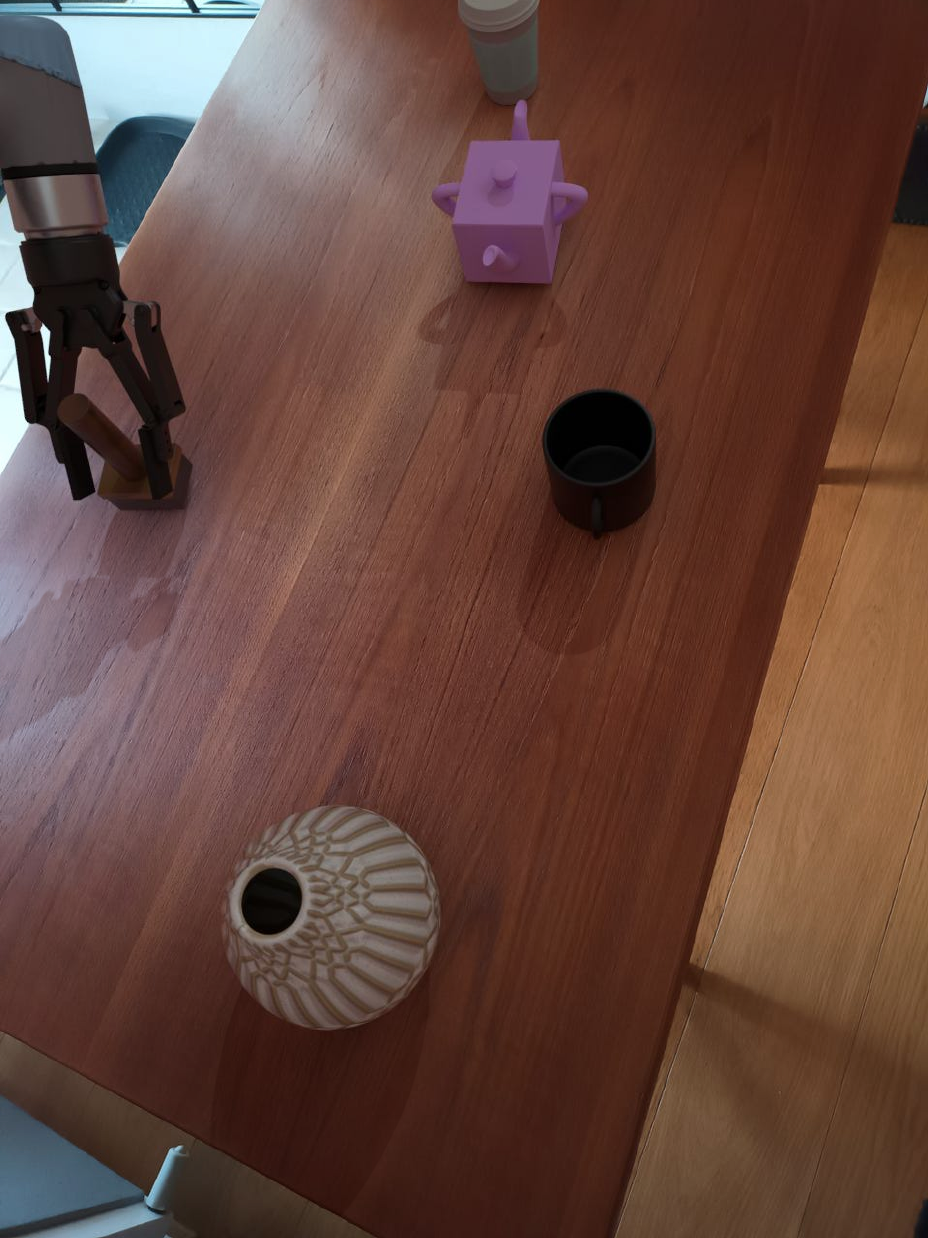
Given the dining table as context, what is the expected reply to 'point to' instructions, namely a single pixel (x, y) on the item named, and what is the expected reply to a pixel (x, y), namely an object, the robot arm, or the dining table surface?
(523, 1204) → the dining table surface
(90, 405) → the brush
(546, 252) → the teapot
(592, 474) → the mug
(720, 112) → the dining table surface
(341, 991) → the vase
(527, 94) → the coffee cup
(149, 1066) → the dining table surface
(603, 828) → the dining table surface
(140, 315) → the robot arm
